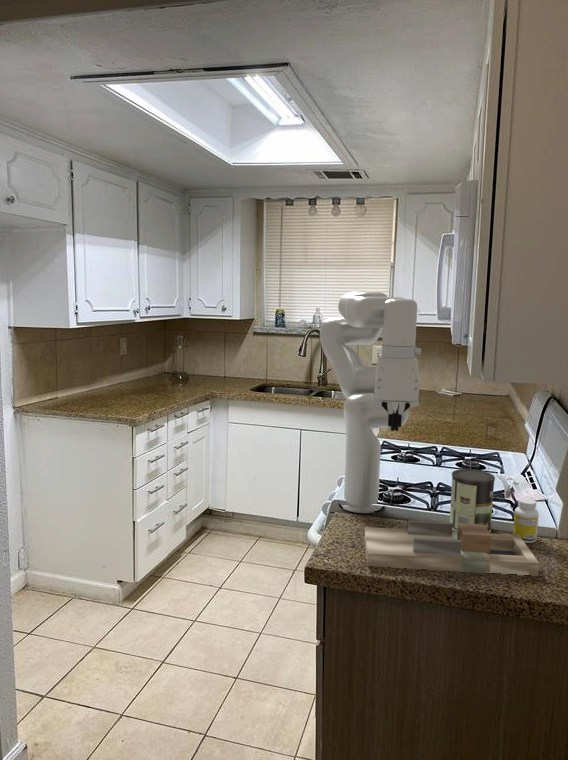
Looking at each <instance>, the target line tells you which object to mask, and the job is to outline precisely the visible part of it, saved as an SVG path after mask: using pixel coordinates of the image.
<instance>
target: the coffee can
mask: <svg viewBox="0 0 568 760" xmlns="http://www.w3.org/2000/svg"><path fill="white" fill-rule="evenodd" d="M495 481H496V476H495V475H494V474H493V473H490V472H487V471H484V470H481V469H474V468H472V469H471V468H463V469H462V468H461V469H460V468H459V469H455V470H453V471H452V473H451V491H450V492H451V493H450V494H451V495H450V509H449V522H452V524H453V527H452V532H458V523H463V524H480V525H486V527H487V529H488V531H489V533H490V534H491V532H492V517H493V516H492V515H493V514H492V513H493V503H494V502H493V501H494V489H495V487H494V486H495Z"/></svg>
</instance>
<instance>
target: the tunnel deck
mask: <svg viewBox="0 0 568 760" xmlns="http://www.w3.org/2000/svg"><path fill="white" fill-rule="evenodd" d="M407 525H408V526H407V528H389V527H371V526H370V527H368V526H365V527H364V536H363V537H364V547H365V548H364V549H365V558H366V566H367V567H369V566H374V567H373V568H387V567H391V568H390V569H404V568H407V569H406V570H421V569H426V571H439V572H440V571H441V572H443V571H444V572H458V573H473V574H474V572H475V573H476V574H490V573H501V574H500V575H507V574H517V575H516V576H524V575H531V576H530V577H539V573H540V571H539V570H540V562H539V561H538V559H537V557H536V556H535V555H534V553H533V552H532V550H531V549H530V548H529V547H528V545H527V543H524V541H523V540H522V539H521V537H520V536H519V535H513V534H507V533H506V534H505V533H504V534H502V533H490V534H491V547H490V553H480V552H464V551H462V550H461V541H460V540H457V532H455V531H453V530H452V527H453V524H452V522H450V521H432V520H431V521H430V520H413V519H412V520H411V519H408V522H407ZM427 569H428V570H427Z"/></svg>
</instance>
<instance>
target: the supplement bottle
mask: <svg viewBox="0 0 568 760" xmlns="http://www.w3.org/2000/svg"><path fill="white" fill-rule="evenodd" d="M517 505H518V506H517V507H516V508H515V509H514V514H513V515H514V517H513V530H512V531H513V532H512V535H519V536H520V537H521V539H522V540H523V541H524V543H525V544H532V543H535V542H537V538H538V530H539V529H538V527H539V514H540V513H539V511H538V510H537V501H536V500H535V499H532V498H528V497H520V498H518V503H517Z"/></svg>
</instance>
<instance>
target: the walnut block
mask: <svg viewBox="0 0 568 760" xmlns="http://www.w3.org/2000/svg"><path fill="white" fill-rule="evenodd" d="M491 534H492V533H491V532H490V533H489V531H488V529H487V527H486V525H480V524H463V523H458V532H457V540H460V541H461V550H462V551H464V552H480V553H490V547H491Z"/></svg>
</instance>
